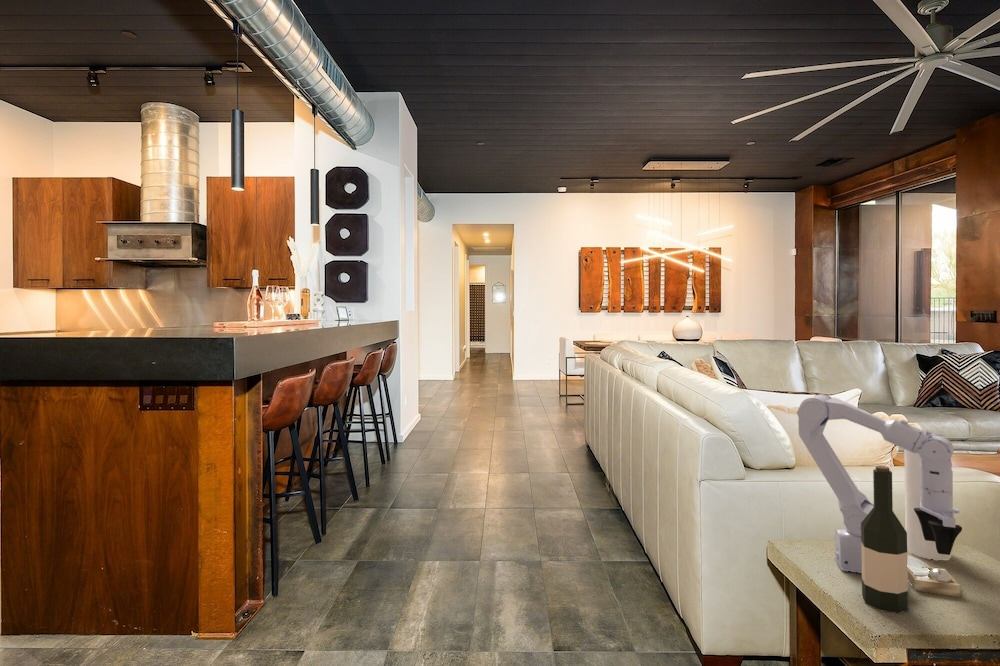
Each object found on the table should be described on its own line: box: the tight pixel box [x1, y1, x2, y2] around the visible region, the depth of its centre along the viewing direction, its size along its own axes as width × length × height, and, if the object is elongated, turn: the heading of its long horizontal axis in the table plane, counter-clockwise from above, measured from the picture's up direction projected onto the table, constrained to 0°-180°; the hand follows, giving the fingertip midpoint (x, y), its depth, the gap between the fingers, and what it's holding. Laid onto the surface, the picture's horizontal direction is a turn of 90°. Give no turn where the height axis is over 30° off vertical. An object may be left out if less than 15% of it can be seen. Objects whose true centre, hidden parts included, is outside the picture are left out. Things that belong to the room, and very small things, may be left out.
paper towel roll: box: [903, 449, 952, 561], centre depth 140 cm, size 9×9×30 cm
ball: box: [928, 567, 951, 583], centre depth 122 cm, size 4×4×4 cm
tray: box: [907, 566, 961, 597], centre depth 124 cm, size 8×8×3 cm
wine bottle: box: [861, 465, 909, 614], centre depth 117 cm, size 8×8×30 cm
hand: (936, 546), depth 123 cm, fingers open, 7 cm apart
